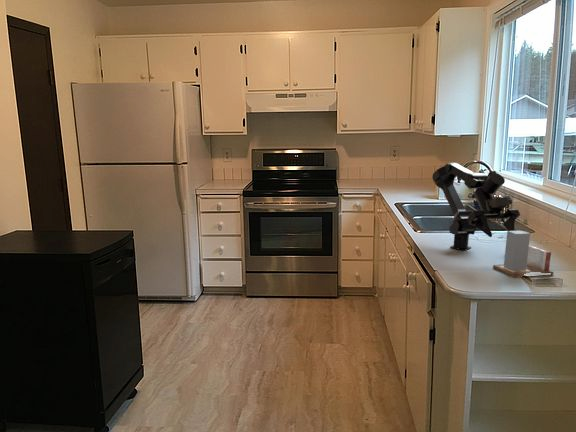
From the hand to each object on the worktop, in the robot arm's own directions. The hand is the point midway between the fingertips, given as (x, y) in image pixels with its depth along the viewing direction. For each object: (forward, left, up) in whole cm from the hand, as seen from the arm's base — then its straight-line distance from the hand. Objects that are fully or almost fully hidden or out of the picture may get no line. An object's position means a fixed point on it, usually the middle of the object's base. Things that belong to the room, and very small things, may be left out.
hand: (502, 236), depth 170 cm
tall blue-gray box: (+4, +7, -10) cm, 13 cm away
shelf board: (+1, +8, -11) cm, 14 cm away
